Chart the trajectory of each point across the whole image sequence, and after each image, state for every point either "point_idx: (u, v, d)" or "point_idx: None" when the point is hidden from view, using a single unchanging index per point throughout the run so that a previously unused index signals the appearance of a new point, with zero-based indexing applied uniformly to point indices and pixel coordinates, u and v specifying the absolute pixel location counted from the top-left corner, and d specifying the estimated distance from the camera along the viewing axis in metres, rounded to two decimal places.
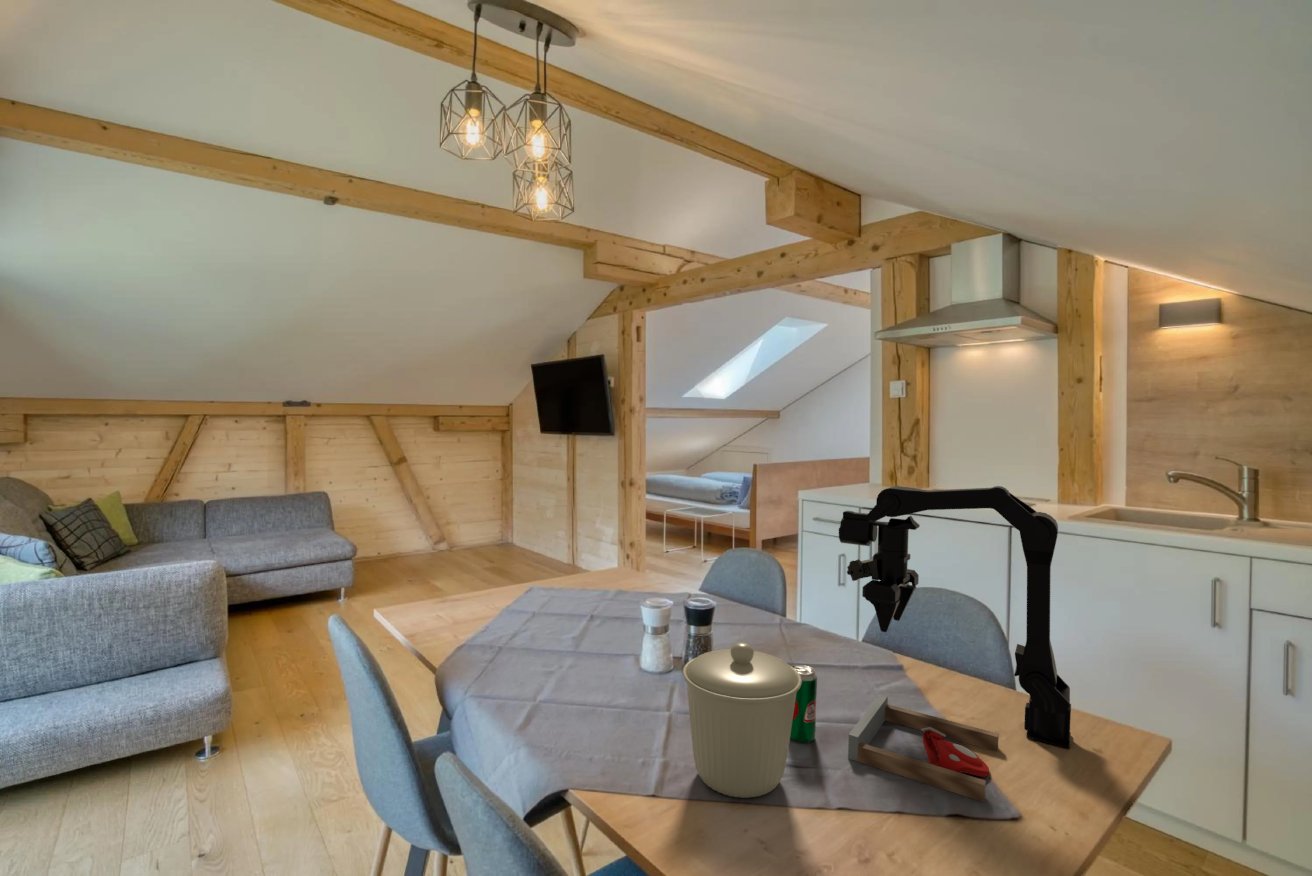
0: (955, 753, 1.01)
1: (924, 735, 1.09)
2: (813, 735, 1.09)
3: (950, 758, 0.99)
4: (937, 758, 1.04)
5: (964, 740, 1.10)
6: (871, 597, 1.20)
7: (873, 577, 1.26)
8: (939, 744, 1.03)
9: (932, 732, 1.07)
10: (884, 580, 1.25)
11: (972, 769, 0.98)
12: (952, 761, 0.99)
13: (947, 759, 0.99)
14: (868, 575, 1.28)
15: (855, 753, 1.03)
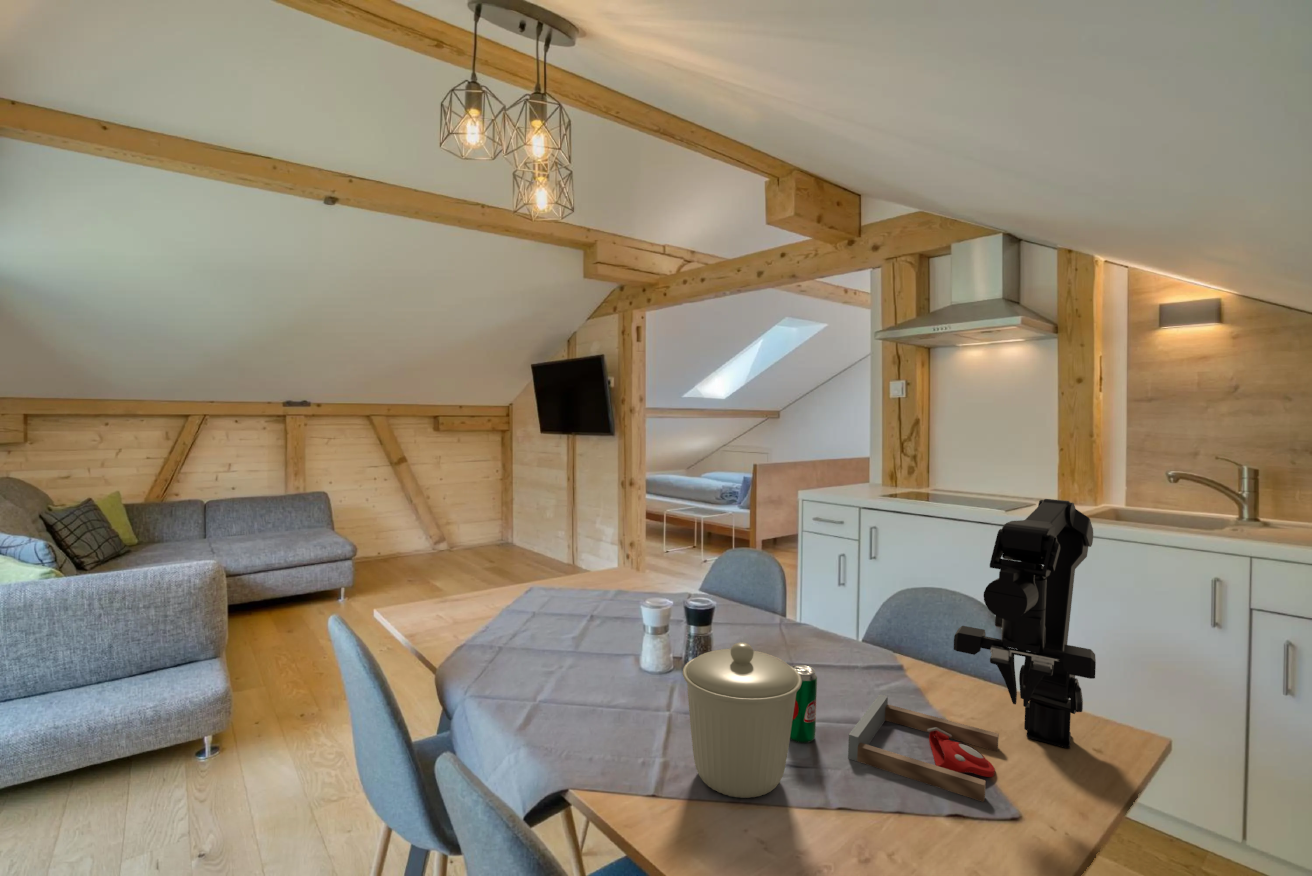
0: (960, 754, 1.01)
1: (930, 735, 1.09)
2: (813, 735, 1.09)
3: (956, 758, 0.99)
4: (943, 758, 1.04)
5: (964, 740, 1.10)
6: None
7: None
8: (945, 744, 1.03)
9: (938, 732, 1.07)
10: None
11: (978, 769, 0.98)
12: (957, 761, 0.99)
13: (953, 759, 0.99)
14: None
15: (855, 753, 1.03)
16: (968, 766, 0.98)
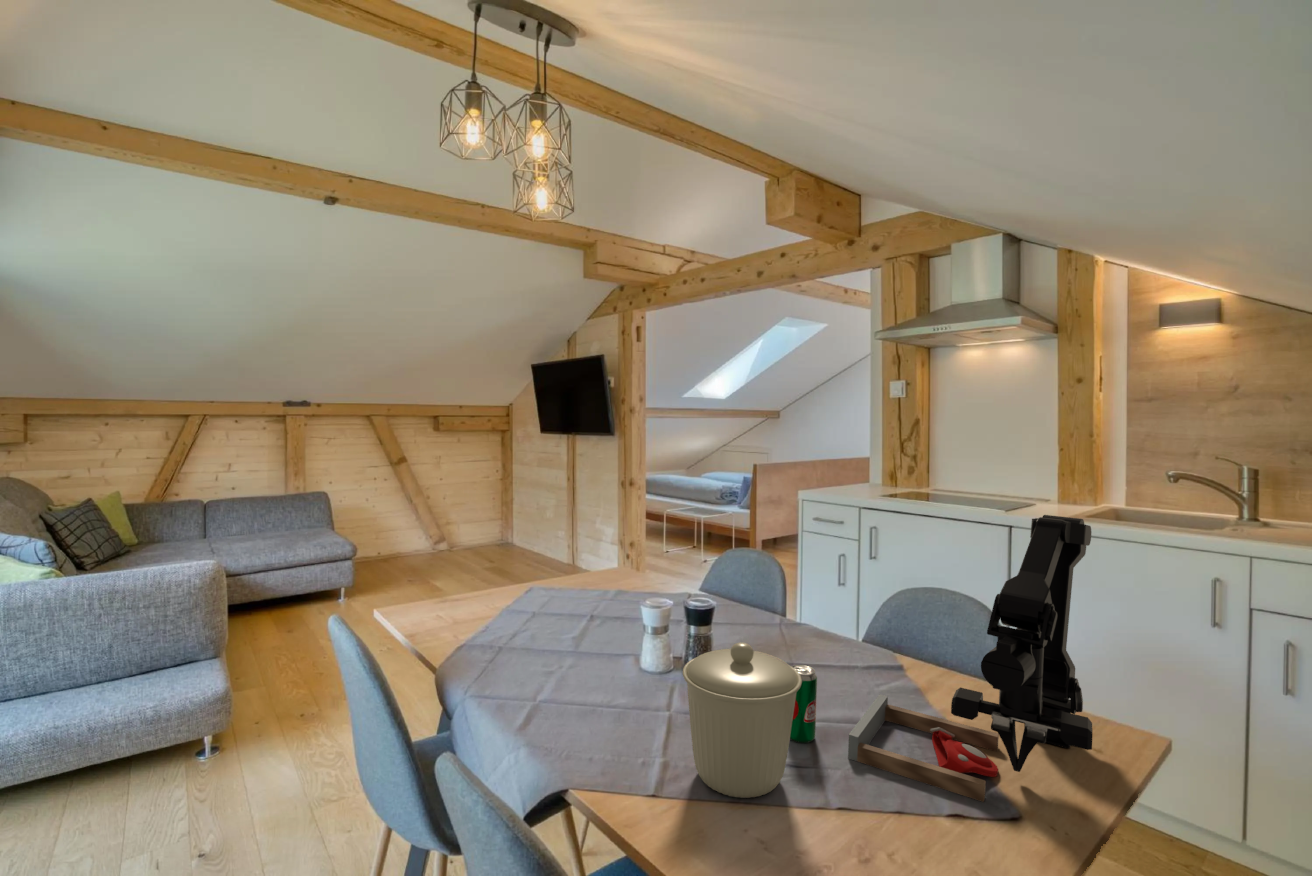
0: (963, 754, 1.01)
1: (933, 735, 1.09)
2: (813, 735, 1.09)
3: (959, 758, 0.99)
4: (946, 758, 1.04)
5: (964, 740, 1.10)
6: None
7: None
8: (948, 744, 1.03)
9: (941, 732, 1.07)
10: None
11: (981, 769, 0.98)
12: (961, 761, 0.99)
13: (956, 759, 0.99)
14: None
15: (855, 753, 1.03)
16: (971, 766, 0.98)
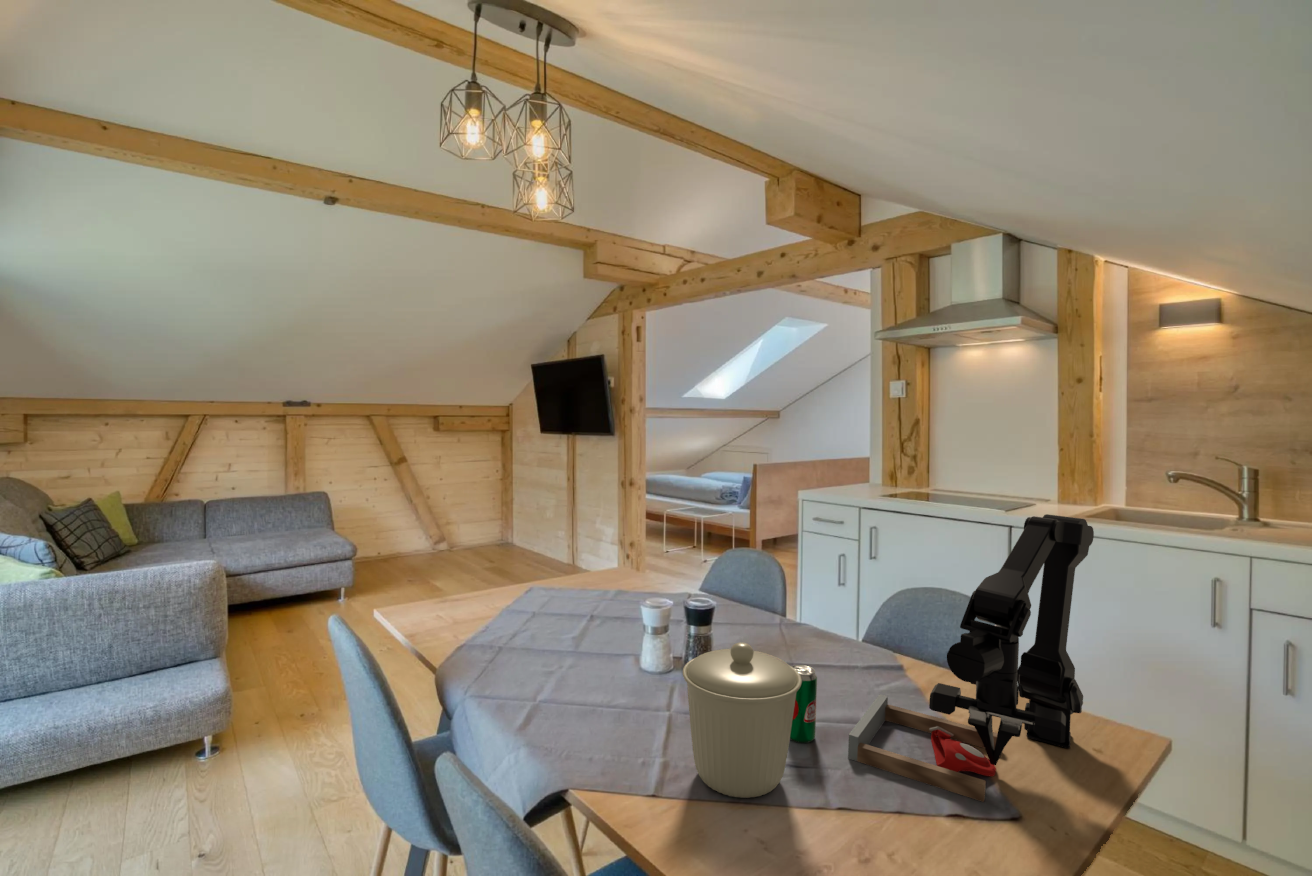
0: (961, 753, 1.01)
1: (932, 734, 1.09)
2: (813, 735, 1.09)
3: (956, 757, 1.00)
4: (944, 757, 1.04)
5: (964, 740, 1.10)
6: None
7: None
8: (946, 743, 1.03)
9: (940, 731, 1.07)
10: None
11: (978, 768, 0.98)
12: (958, 760, 0.99)
13: (953, 758, 1.00)
14: None
15: (855, 753, 1.03)
16: (968, 765, 0.98)
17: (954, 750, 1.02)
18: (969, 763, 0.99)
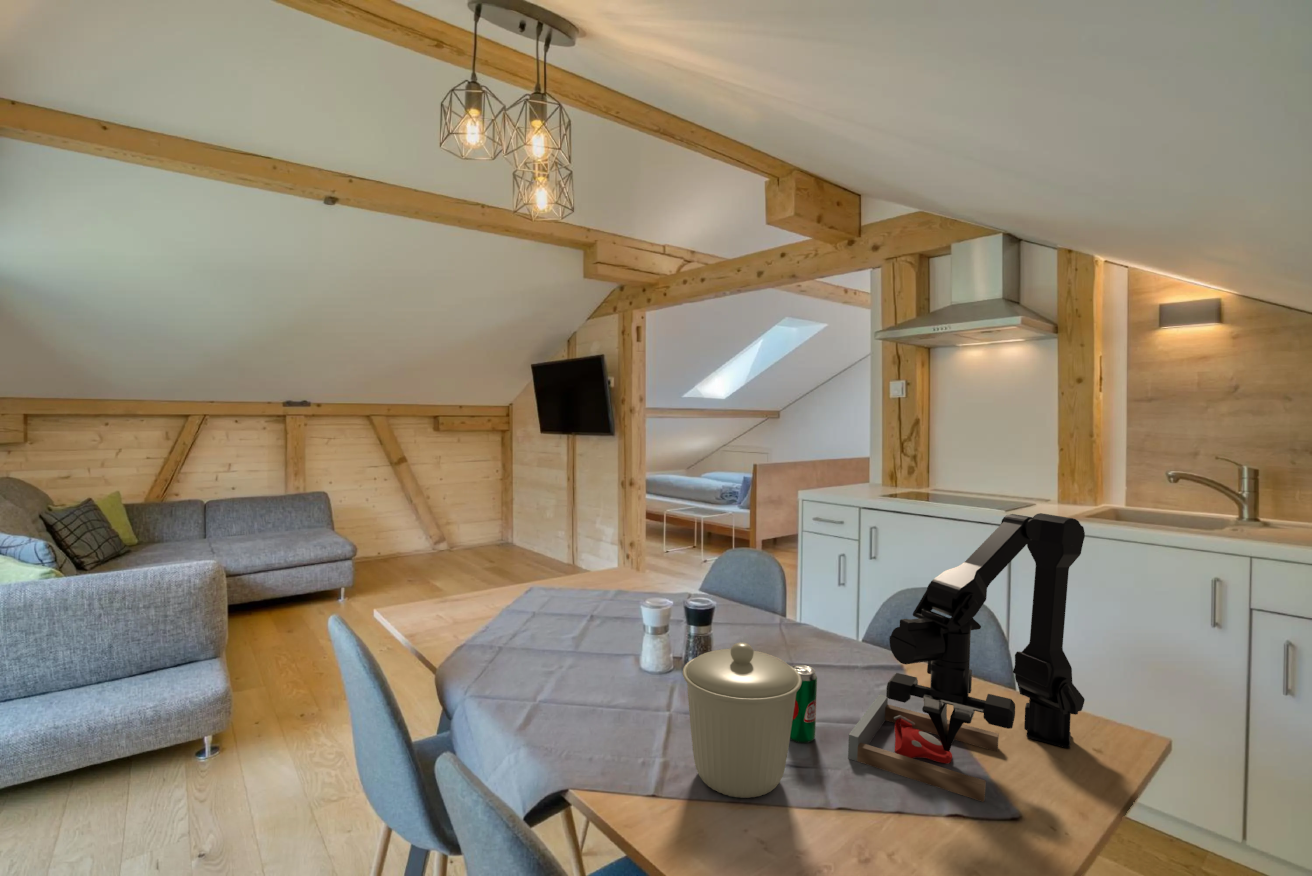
0: (918, 740, 1.05)
1: (896, 723, 1.13)
2: (813, 735, 1.09)
3: (912, 743, 1.03)
4: None
5: (964, 740, 1.10)
6: None
7: None
8: (905, 731, 1.07)
9: (902, 720, 1.11)
10: None
11: (932, 755, 1.02)
12: (913, 746, 1.03)
13: (909, 744, 1.03)
14: None
15: (855, 753, 1.03)
16: (923, 751, 1.02)
17: (912, 737, 1.05)
18: (924, 750, 1.02)
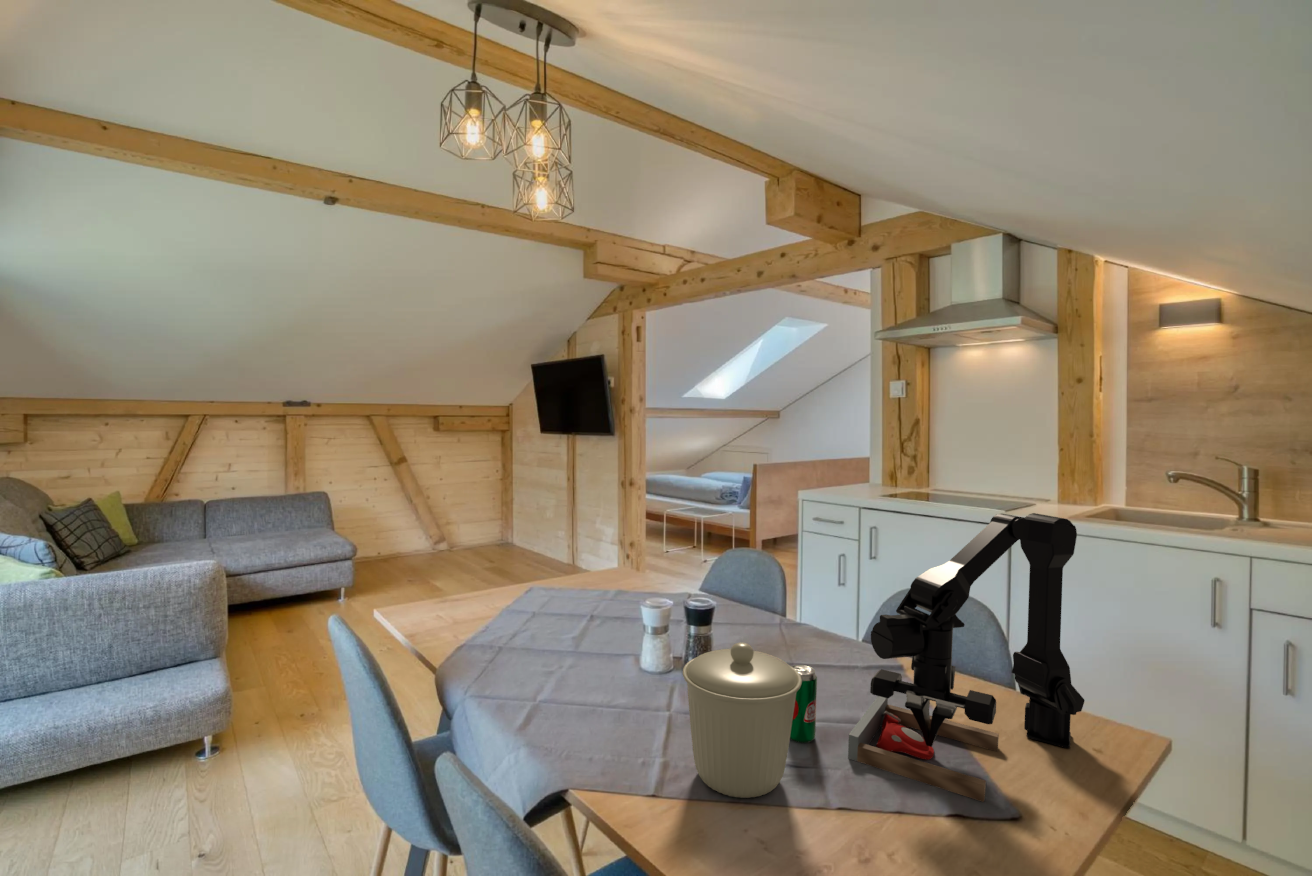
0: (899, 735, 1.06)
1: (884, 719, 1.15)
2: (813, 735, 1.09)
3: (892, 738, 1.05)
4: None
5: (964, 740, 1.10)
6: None
7: None
8: (888, 726, 1.09)
9: (888, 716, 1.12)
10: None
11: (911, 750, 1.03)
12: (892, 741, 1.05)
13: (888, 739, 1.05)
14: None
15: (855, 753, 1.03)
16: (901, 746, 1.03)
17: (893, 732, 1.07)
18: (903, 745, 1.04)
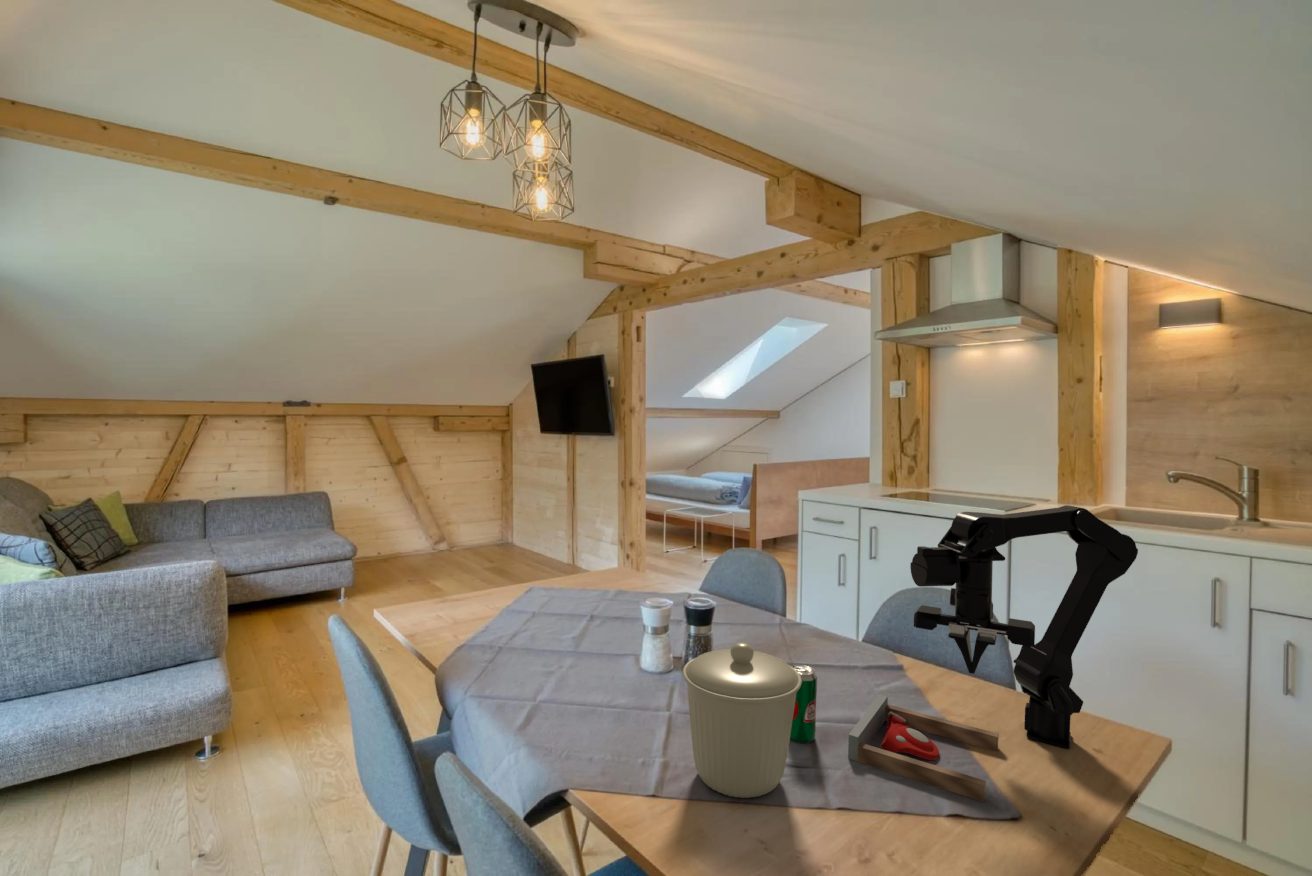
0: (904, 736, 1.06)
1: (889, 720, 1.15)
2: (813, 735, 1.09)
3: (896, 738, 1.05)
4: None
5: (964, 740, 1.10)
6: None
7: None
8: (892, 726, 1.09)
9: (893, 716, 1.12)
10: None
11: (915, 751, 1.03)
12: (897, 741, 1.04)
13: (893, 739, 1.05)
14: None
15: (855, 753, 1.03)
16: (905, 746, 1.03)
17: (898, 733, 1.07)
18: (907, 745, 1.04)
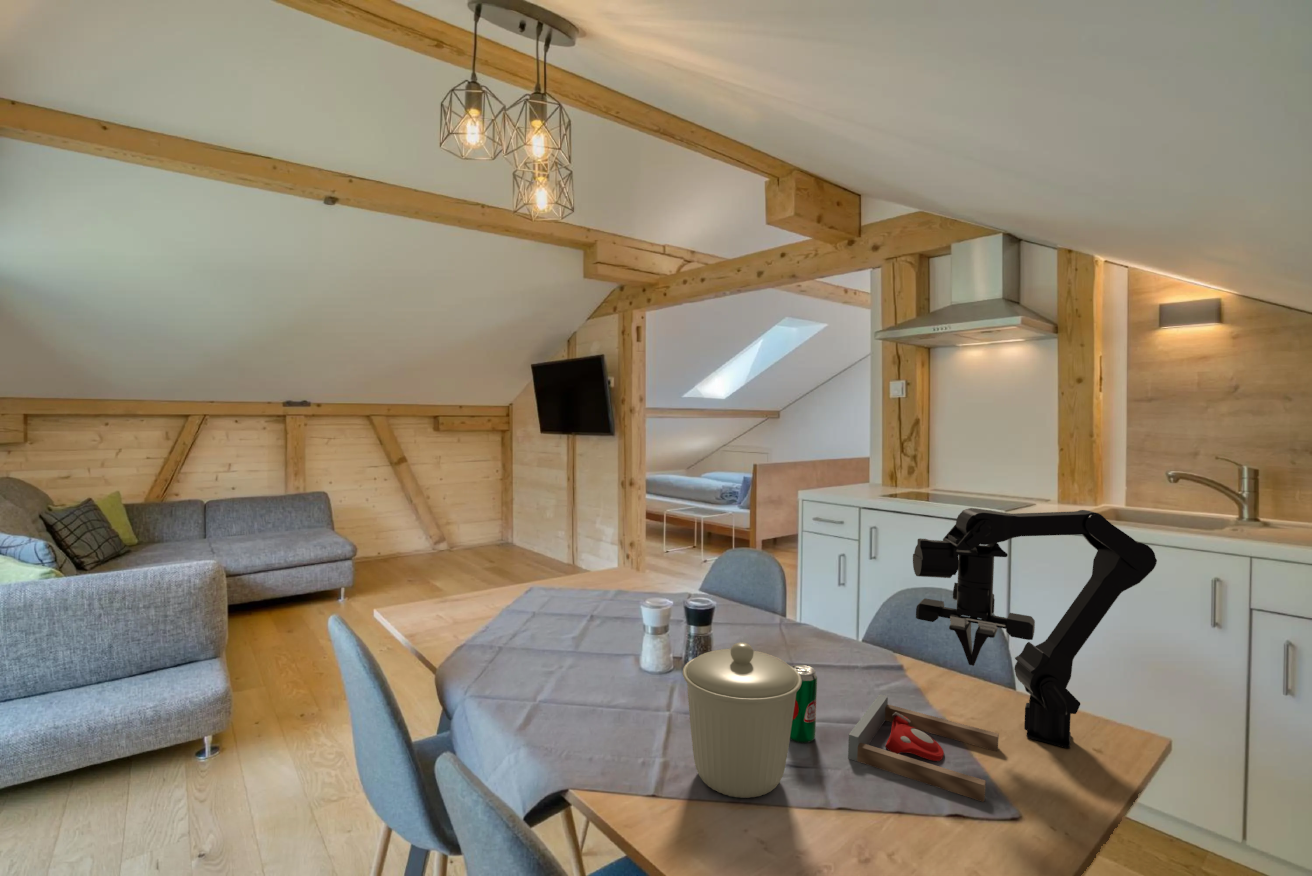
0: (908, 736, 1.06)
1: (894, 720, 1.14)
2: (813, 735, 1.09)
3: (901, 739, 1.05)
4: None
5: (964, 740, 1.10)
6: None
7: None
8: (897, 727, 1.08)
9: (897, 717, 1.12)
10: None
11: (920, 751, 1.03)
12: (901, 742, 1.04)
13: (897, 740, 1.05)
14: None
15: (855, 753, 1.03)
16: (910, 747, 1.03)
17: (902, 733, 1.07)
18: (912, 746, 1.04)
